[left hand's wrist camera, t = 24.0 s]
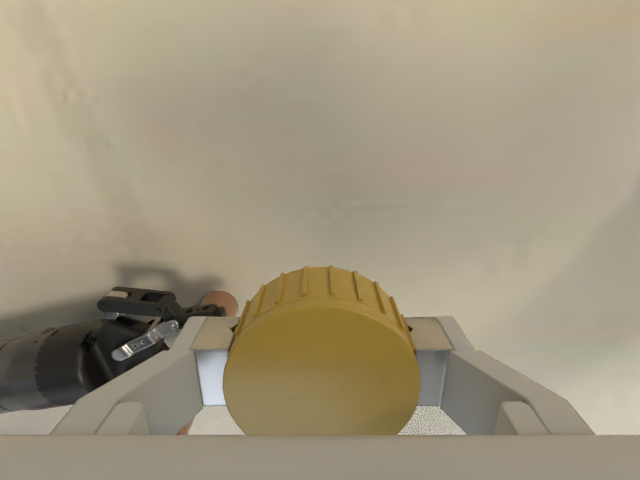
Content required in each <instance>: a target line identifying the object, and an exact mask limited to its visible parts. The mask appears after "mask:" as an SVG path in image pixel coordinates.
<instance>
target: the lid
mask: <svg viewBox="0 0 640 480" xmlns="http://www.w3.org/2000/svg"><path fill="white" fill-rule="evenodd" d="M415 350H416V347H415V344H414V342H413V339H412V337H411V334H410V332H409V329H408V327H407V324H406V321H405V319H404V316H403V314H402V315H400V313H399V311H398V308H397V305H396V303H395V300H394V298H393V297H392V296H391V297H389V296H388V295H387V294H386V293H385V292H384V291H383V290H382V289H381V288H380V287H379V284H378V282H376V281H375V282H374V283H373V282H372V281H370V280H369V279H367V278H365V277H363V276H361V275H359V274H358V272H357V271H353V272H350V271H347V270H343V269H338V268H333V266H330V265H329V267H312V268H308V266H305V267H304V269H300V270H296V271H292V272H290V273H287V274H285V273H281V274H280V277H278V278H276V279H275V280H273V281H271V282H270V283H268V284H267V285H266V286H265V285H264V284H263V285H262V286H261V287H260V290H259V292H258V293H257V294H256V295H255V296H254V297H253V299H252V300H251V301H249V300H248V301H247V302H246V304H245V307H244V310H243V313H242V315H241V318H240V321H239V324H238V326H237V327H235V330H234V339H233V341H232V344H231V347H230V349H229V352H228V353H229V356H228V359H227V362H226V364H225V367H224V373H223V394H224V399H225V402H226V405H227V408H228V410H229V412H230V414H231V416H232V418H233V419H234V421H235V422H236V424H237V425H238V426H239V427H240V428H241V430H242V431H243V432H244V433H245V434H246V435H397V434H398V433H399V432H400V431H401V430H402V429H403V428H404V426H405V425H406V424H407V423H408V421H409V420H410V418H411V417H412V415H413V413H414V411H415V409H416V406H417V404H418V400H419V397H420V390H421V374H420V370H419V365H418V362H417V359H416V357H415V354H414V351H415Z"/></svg>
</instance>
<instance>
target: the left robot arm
mask: <svg viewBox="0 0 640 480" xmlns="http://www.w3.org/2000/svg"><path fill="white" fill-rule="evenodd" d="M240 318H241V317H210V316H209V317H207V316H192V317H190V318H188V320H187V321H186V323H185V325H184V326H183V328H182V329H181V331H180V333H179V334H178V336H177V338H176V339H175V341H174V342H173V344H172V346H171V347H170V349H169V350H168V351H162V352H160V353H158V354H156V355H155V356H153V357H151V358H149V359H148V360H146V361H144V362H142V363H141V364H139V365H137V366H135V367H134V368H132V369H130V370H129V371H127V372H125V373H123V374H122V375H120V376H118V377H116V378H115V379H113V380H111V381H109V382H108V383H106V384H104V385H102V386H101V387H99V388H97V389H95V390H94V391H92V392H90V393H88V394H87V395H85V396H83V397H82V398H80V399H78V400H77V401H76V402H75V404H74V405H73V406H72V407H71V409H70V410H69V411H68V412H67V413H66V415H65V416H64V417H63V418H62V420H61V421H60V422H59V423H58V424H57V426H56V427H55V428H54V429H53V430H52V432H51V433H50V434H49V435H0V480H640V435H596V434H595V433H594V432H593V431H592V430H591V428H590V427H589V426H588V425H587V424H586V422H585V421H584V420H583V419H582V418H581V416H580V415H579V414H578V413H577V412H576V410H575V409H574V408H573V407H572V405H571V404H570V403H569V402H568V401H567V400H566V399H564V398H562V397H561V396H559V395H557V394H555V393H554V392H552V391H550V390H548V389H547V388H545V387H543V386H541V385H540V384H538V383H536V382H534V381H533V380H531V379H529V378H527V377H526V376H524V375H522V374H520V373H519V372H517V371H515V370H513V369H512V368H510V367H508V366H506V365H505V364H503V363H501V362H499V361H498V360H496V359H494V358H492V357H491V356H489V355H487V354H485V353H484V352H482V351H476V350H474V348H473V347H472V345H471V344H470V342H469V340H468V339H467V337H466V336H465V334H464V333H463V331H462V330H461V328H460V326H459V325H458V323H457V322H456V320H455V319H454V317H452V316H441V317H409V318H404V319H405V321H406V324H407V327H408V329H409V332H410V334H411V337H412V339H413V342H414V344H415V347H416V350H415V351H414V354H415V357H416V359H417V362H418V365H419V370H420V374H421V390H420V397H419V400H418V404H417V406H440V408H441V409H442V410H443V411H444V412H445V413H446V414H447V415H448V416H449V417H450V418H451V419H452V420H453V421H454V422H455V423H456V424H457V425H458V426H459V427H460V428H461V429H462V430H463V431H464V432H466V433H467V434H468V435H176V434H177V433H178V432H179V431H180V430H181V429H182V428H183V427H184V426H185V425H186V424H187V423H188V422H189V421H190V420H191V419H192V418H193V417H194V416H195V415H196V414H197V413H198V412H199V411H200V410H201V409H203V406H227V405H226V402H225V399H224V394H223V373H224V367H225V364H226V362H227V359H228V356H229V353H228V352H229V349H230V347H231V344H232V341H233V339H234V330H235V327H237V326H238V324H239V321H240Z"/></svg>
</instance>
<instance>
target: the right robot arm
mask: <svg viewBox="0 0 640 480" xmlns="http://www.w3.org/2000/svg"><path fill="white" fill-rule="evenodd" d="M175 299H176V297H175V295H174V294H173V293H172V292H167V291H156V290H146V289H135V288H125V287H114V288H113V289H112V290H111V291H110V292H108V293H107V294H106V295H105V296H104V297H103V298H102V299H101V300H100V301H99V302H98V303H97V306H98V308H99V309H100V310H101V311H103V312H105V317H106V319H105V320H96V321H91V322H86V323H80V324H75V325H70V326H65V327H59V328H50V329H47V330H44V331H39V332H36V333H33V334H30V335H27V336H24V337H20V338H15V339H9V340H4V341H0V414H2V413H8V412H14V411H20V410H41V409H48V408H54V407H60V406H66V405H72V404H75V402H76V401H77V400H78V399H80V398H82V397H83V396H85V395H87V394H88V393H90V392H92V391H94V390H95V389H97V388H99V387H101V386H102V385H104V384H106V383H108V382H109V381H111V380H113V379H115V378H116V377H118V376H120V375H122V374H123V373H125V372H127V371H129V370H130V369H132V368H134V367H135V366H137V365H139V364H141V363H142V362H144V361H146V360H148V359H149V358H151V357H153V356H155V355H156V354H158V353H160V352H162V351H168V350H169V349H170V348H168V346H167V345H166V344H165V343H164V340H163V337H165V336H167V335H170V334H172V333H174V332H176V331H177V330H178V329H180V328H183V326H184V325H185V323H186V321H187V320H188V318H190V317H192V316H207V317H209V316H210V317H226V315H227V312H226V310H225V307H224V306H221V307H218V305H217V304H207V305H202V306H196V307H191V308H185V307H182V306H179V305H178V304H177V302H176V301H175ZM126 314H134V315H145V316H155V317H153V318H151V319H149V320H147V321H145V322H143V321H140V320H137V319H134V318H131V317H128V316H126Z"/></svg>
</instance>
